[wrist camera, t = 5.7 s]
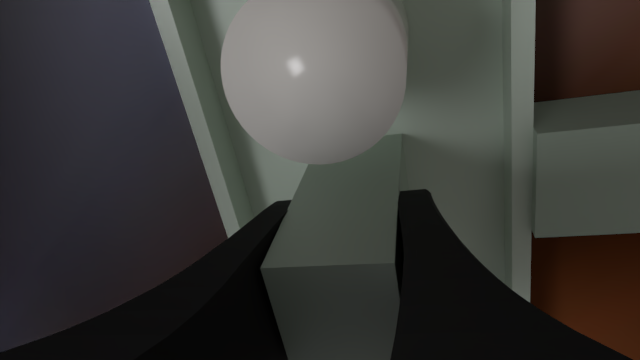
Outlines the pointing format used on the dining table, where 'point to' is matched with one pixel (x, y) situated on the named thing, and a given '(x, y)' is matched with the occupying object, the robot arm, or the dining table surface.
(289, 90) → the white egg
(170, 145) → the dining table surface
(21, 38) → the dining table surface
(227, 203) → the tray
